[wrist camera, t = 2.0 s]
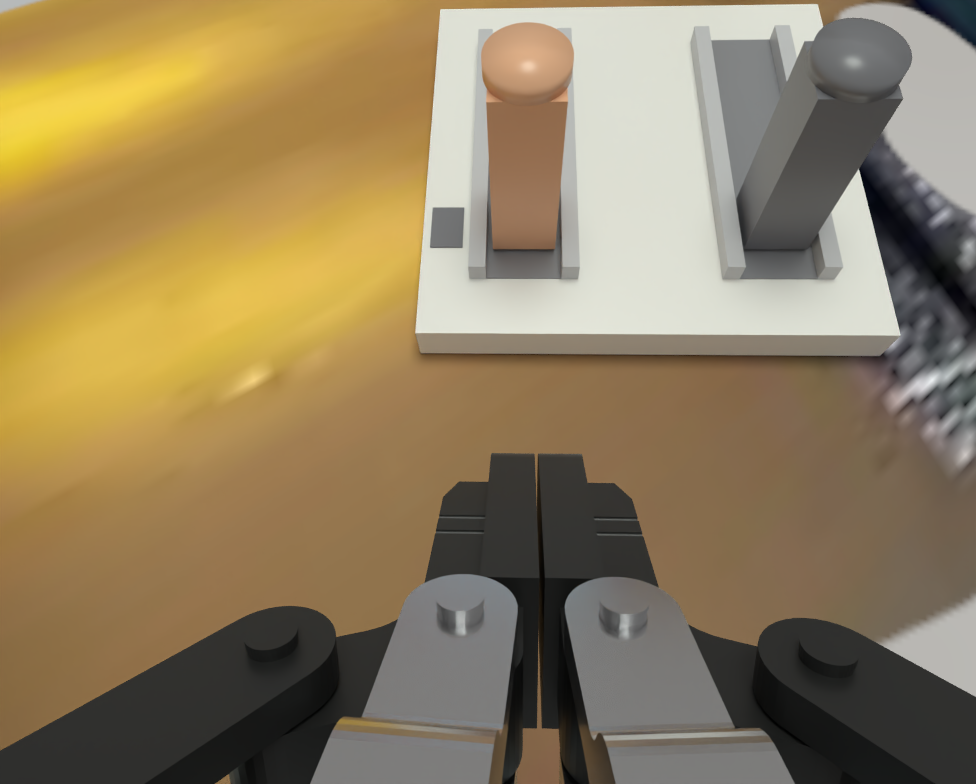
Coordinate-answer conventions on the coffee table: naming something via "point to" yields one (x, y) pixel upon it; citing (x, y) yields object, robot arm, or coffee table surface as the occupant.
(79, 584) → the coffee table surface
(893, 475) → the coffee table surface
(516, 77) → the tan switch lever
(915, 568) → the coffee table surface
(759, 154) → the dark grey upright bar
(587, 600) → the robot arm
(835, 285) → the switch panel
